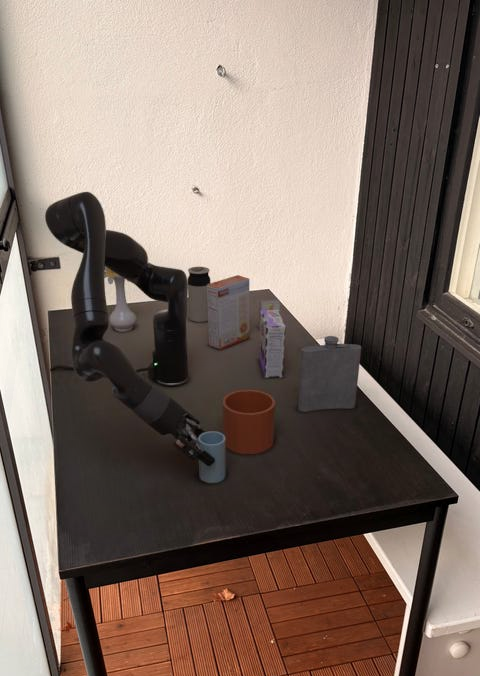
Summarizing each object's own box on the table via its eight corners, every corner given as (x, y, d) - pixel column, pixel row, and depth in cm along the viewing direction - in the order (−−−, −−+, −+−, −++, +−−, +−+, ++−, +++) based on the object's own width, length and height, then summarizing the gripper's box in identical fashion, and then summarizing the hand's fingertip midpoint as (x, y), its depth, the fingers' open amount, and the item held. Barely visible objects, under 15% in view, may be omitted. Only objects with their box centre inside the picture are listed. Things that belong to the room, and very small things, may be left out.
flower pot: (216, 450, 157) (216, 410, 151) (230, 424, 167) (230, 387, 162) (267, 457, 154) (268, 417, 149) (278, 431, 165) (279, 393, 159)
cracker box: (237, 334, 221) (237, 274, 210) (250, 339, 217) (250, 278, 207) (207, 345, 212) (205, 283, 202) (219, 350, 209) (218, 287, 198)
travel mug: (185, 320, 232) (183, 271, 223) (194, 313, 238) (193, 265, 229) (205, 323, 229) (204, 273, 220) (214, 316, 235) (213, 267, 226)
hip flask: (299, 412, 174) (303, 343, 163) (295, 405, 177) (299, 337, 167) (356, 408, 176) (364, 339, 166) (351, 401, 179) (359, 333, 169)
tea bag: (258, 326, 227) (259, 299, 222) (277, 325, 228) (278, 298, 223) (260, 330, 224) (260, 302, 219) (279, 329, 225) (280, 302, 220)
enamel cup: (195, 480, 146) (194, 443, 141) (203, 466, 151) (203, 429, 146) (221, 485, 144) (220, 447, 139) (228, 470, 149) (228, 433, 144)
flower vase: (154, 332, 222) (150, 260, 209) (99, 337, 218) (91, 263, 205) (149, 319, 232) (145, 249, 220) (97, 323, 228) (89, 252, 216)
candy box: (258, 359, 203) (260, 309, 195) (277, 358, 204) (279, 308, 195) (263, 378, 191) (265, 326, 183) (283, 377, 192) (286, 325, 184)
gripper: (146, 404, 145) (199, 446, 151) (143, 437, 133) (200, 481, 139) (169, 382, 143) (221, 426, 149) (168, 414, 130) (225, 459, 137)
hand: (211, 452), depth 144 cm, fingers open, 8 cm apart
